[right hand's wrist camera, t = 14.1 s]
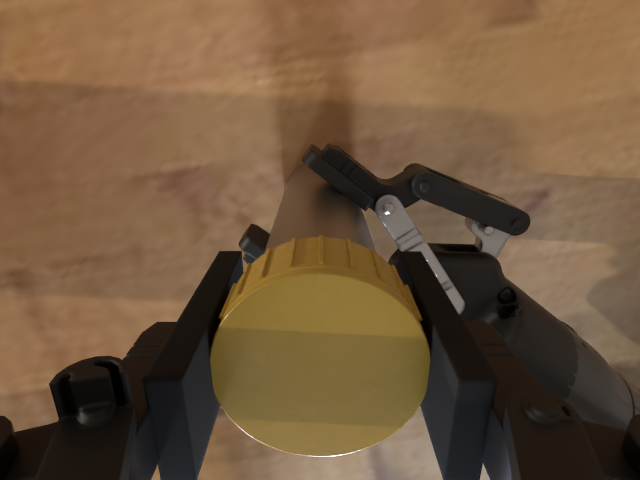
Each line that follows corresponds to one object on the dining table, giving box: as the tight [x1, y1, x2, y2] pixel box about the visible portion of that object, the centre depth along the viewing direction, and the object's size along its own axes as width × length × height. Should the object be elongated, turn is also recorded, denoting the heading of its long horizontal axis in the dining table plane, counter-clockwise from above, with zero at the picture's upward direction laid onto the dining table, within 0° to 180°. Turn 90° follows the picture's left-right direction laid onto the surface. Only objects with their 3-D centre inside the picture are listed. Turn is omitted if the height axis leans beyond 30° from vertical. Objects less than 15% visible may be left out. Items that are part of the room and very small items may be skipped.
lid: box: [210, 235, 431, 457], centre depth 11 cm, size 6×6×2 cm
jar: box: [264, 164, 375, 253], centre depth 19 cm, size 4×4×17 cm
